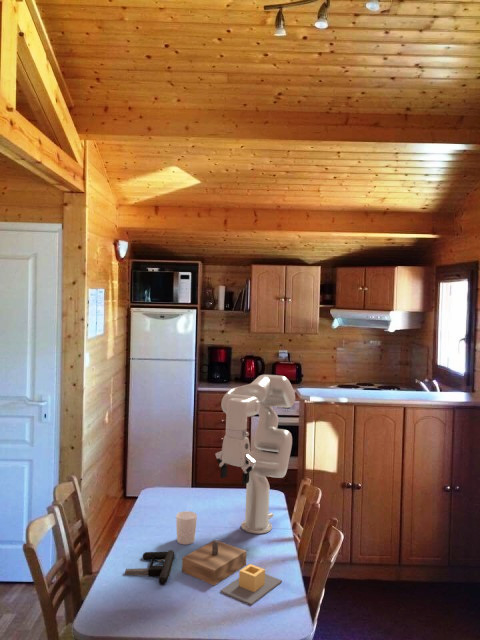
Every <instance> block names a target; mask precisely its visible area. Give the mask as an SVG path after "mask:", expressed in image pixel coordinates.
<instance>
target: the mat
mask: <svg viewBox="0 0 480 640" xmlns="http://www.w3.org/2000/svg"><path fill="white" fill-rule="evenodd" d="M282 582H283V580H282V579H279V578H278V577H274V576H271V575H269V574H266V573H265V585H263V586H262V587H261V588H259V589H258V590H257V591H255V592H253V591H250V590H248V589H245V588H243V587H240V586H239V577H238V578H237V579H235V580H233V581H232V582H231V583H229V584H228V585H226V586H224V587H223V588H221V589H220V591H219V592H220V593H221V594H223V595H226V596H228V597H231V598H232V599H235V600H237V601H240V602H242V603H244V604H247V605H249V606H253V605H254V604H256V603H257V602H258V601H259V600H260V599H262V598H264V597H265V596H266V595H267V594H268V593H270V592H271V591H273V589H275V588H277V587H278V586H279V585H280V584H282Z"/></svg>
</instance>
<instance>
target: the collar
mask: <svg viewBox="0 0 480 640" xmlns="http://www.w3.org/2000/svg"><path fill="white" fill-rule="evenodd" d="M238 571H239V575H238V576H239V577H238V578H239V586H240V587H243V588H245V589H248V590H250V591H253V592H255V591H257V590H258V589H259V588H261V587H262V586H263V585H265V574H266V569H265V568H262V567H259V566H257V565H253V564H251V563H249V564H248V565H247V564H246V565H245V566H244V567H242V568H241V569H239V570H238Z"/></svg>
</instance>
